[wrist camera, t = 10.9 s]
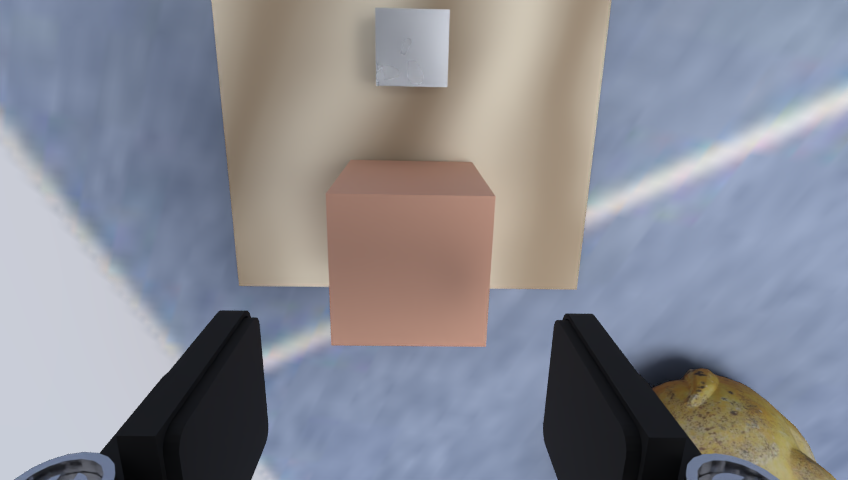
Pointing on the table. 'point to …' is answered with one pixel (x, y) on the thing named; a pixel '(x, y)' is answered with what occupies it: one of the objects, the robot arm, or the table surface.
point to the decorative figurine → (738, 425)
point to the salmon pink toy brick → (409, 254)
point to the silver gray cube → (412, 47)
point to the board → (409, 124)
